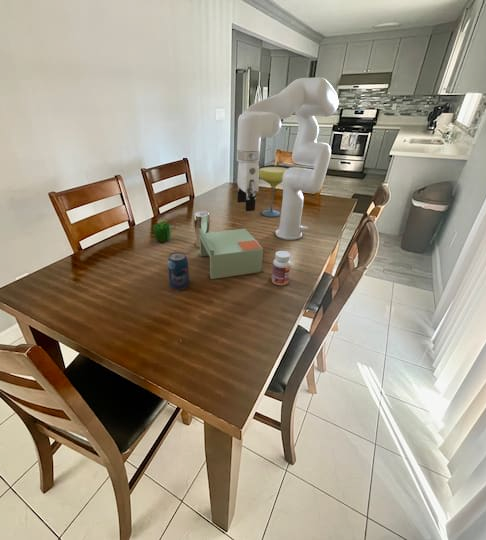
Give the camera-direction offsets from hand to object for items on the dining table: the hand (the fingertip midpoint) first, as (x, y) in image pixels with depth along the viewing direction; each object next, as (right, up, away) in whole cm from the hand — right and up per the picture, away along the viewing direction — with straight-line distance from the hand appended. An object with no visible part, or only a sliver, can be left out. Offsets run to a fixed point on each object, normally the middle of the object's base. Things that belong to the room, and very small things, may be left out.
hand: (245, 206), depth 105 cm
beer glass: (-17, -12, +29) cm, 35 cm away
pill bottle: (+13, -27, +3) cm, 30 cm away
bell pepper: (-36, -9, +34) cm, 50 cm away
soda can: (-24, -29, +1) cm, 37 cm away
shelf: (-5, -20, +15) cm, 25 cm away
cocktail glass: (+21, +9, +64) cm, 68 cm away
